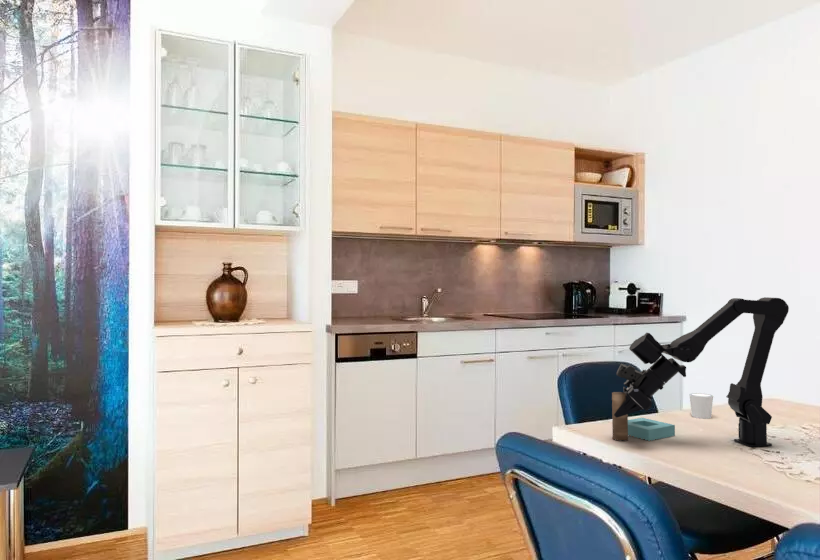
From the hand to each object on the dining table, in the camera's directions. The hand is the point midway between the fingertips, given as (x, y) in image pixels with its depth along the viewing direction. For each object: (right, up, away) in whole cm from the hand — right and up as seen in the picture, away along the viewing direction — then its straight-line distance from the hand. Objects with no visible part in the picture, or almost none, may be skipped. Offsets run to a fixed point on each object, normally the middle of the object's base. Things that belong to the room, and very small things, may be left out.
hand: (614, 414), depth 165 cm
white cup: (+37, -7, +27) cm, 46 cm away
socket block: (+11, -7, +5) cm, 14 cm away
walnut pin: (+1, -7, 0) cm, 7 cm away
